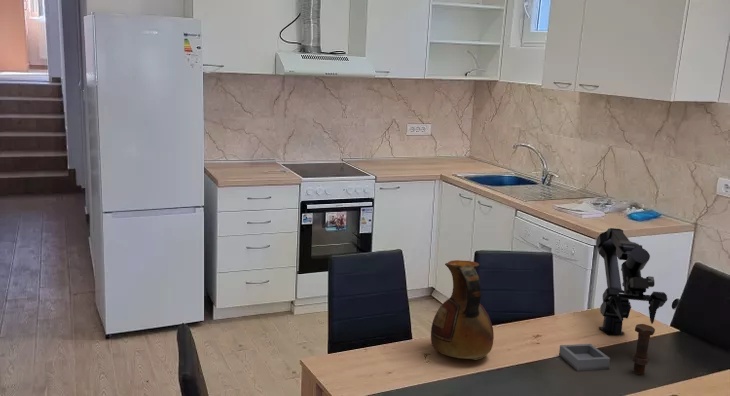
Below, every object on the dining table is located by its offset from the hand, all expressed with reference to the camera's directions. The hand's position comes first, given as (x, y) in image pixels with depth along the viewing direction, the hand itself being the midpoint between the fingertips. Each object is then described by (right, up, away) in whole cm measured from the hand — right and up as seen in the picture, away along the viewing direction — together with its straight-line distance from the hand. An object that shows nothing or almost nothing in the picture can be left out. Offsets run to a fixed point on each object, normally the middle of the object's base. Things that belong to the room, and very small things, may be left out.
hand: (637, 321), depth 206 cm
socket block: (-17, -13, 0) cm, 21 cm away
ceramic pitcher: (-56, -11, +1) cm, 57 cm away
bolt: (-2, -15, -5) cm, 16 cm away
